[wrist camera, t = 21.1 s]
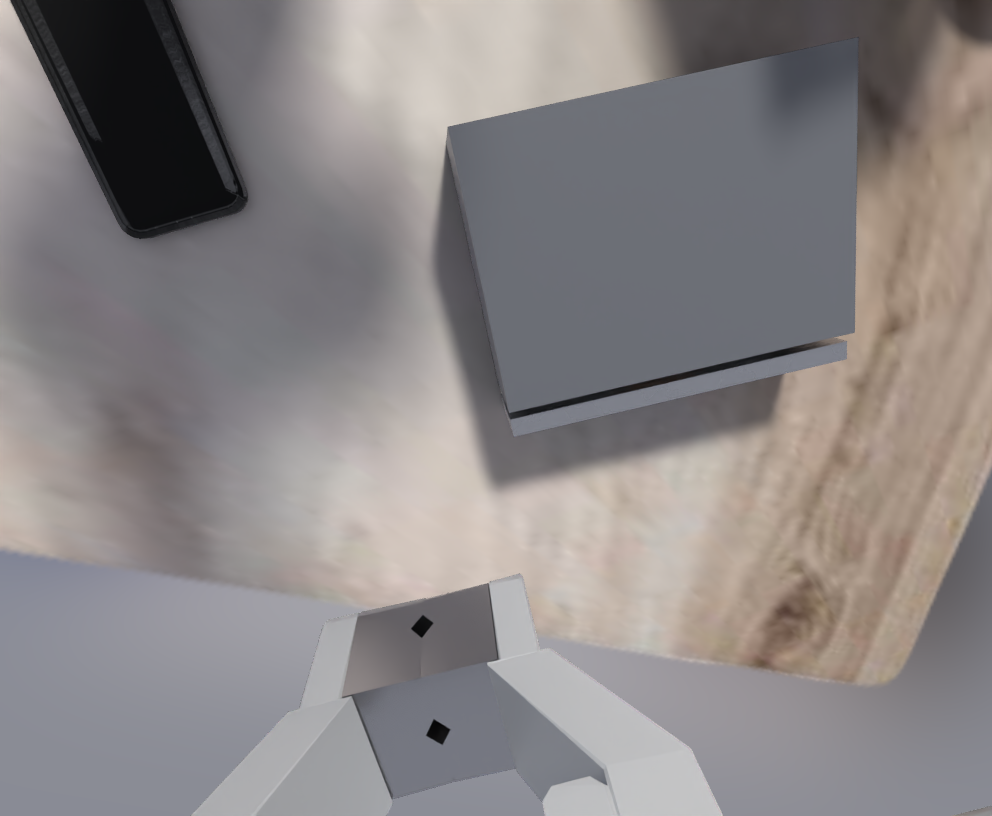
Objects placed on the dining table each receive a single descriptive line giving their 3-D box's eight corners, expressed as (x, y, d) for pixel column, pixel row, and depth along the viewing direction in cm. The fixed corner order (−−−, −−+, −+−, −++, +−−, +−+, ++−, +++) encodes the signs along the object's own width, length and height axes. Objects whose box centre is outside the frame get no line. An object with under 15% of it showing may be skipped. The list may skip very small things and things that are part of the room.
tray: (453, 178, 35) (456, 171, 30) (786, 105, 36) (848, 84, 30) (503, 408, 40) (513, 437, 35) (793, 340, 41) (846, 359, 36)
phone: (131, -87, 29) (249, 207, 34) (142, -77, 30) (255, 208, 35) (-14, -46, 29) (125, 243, 34) (2, -36, 30) (135, 243, 35)
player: (445, 143, 34) (447, 126, 28) (785, 68, 35) (858, 36, 29) (498, 383, 40) (509, 413, 34) (791, 315, 40) (854, 332, 34)
